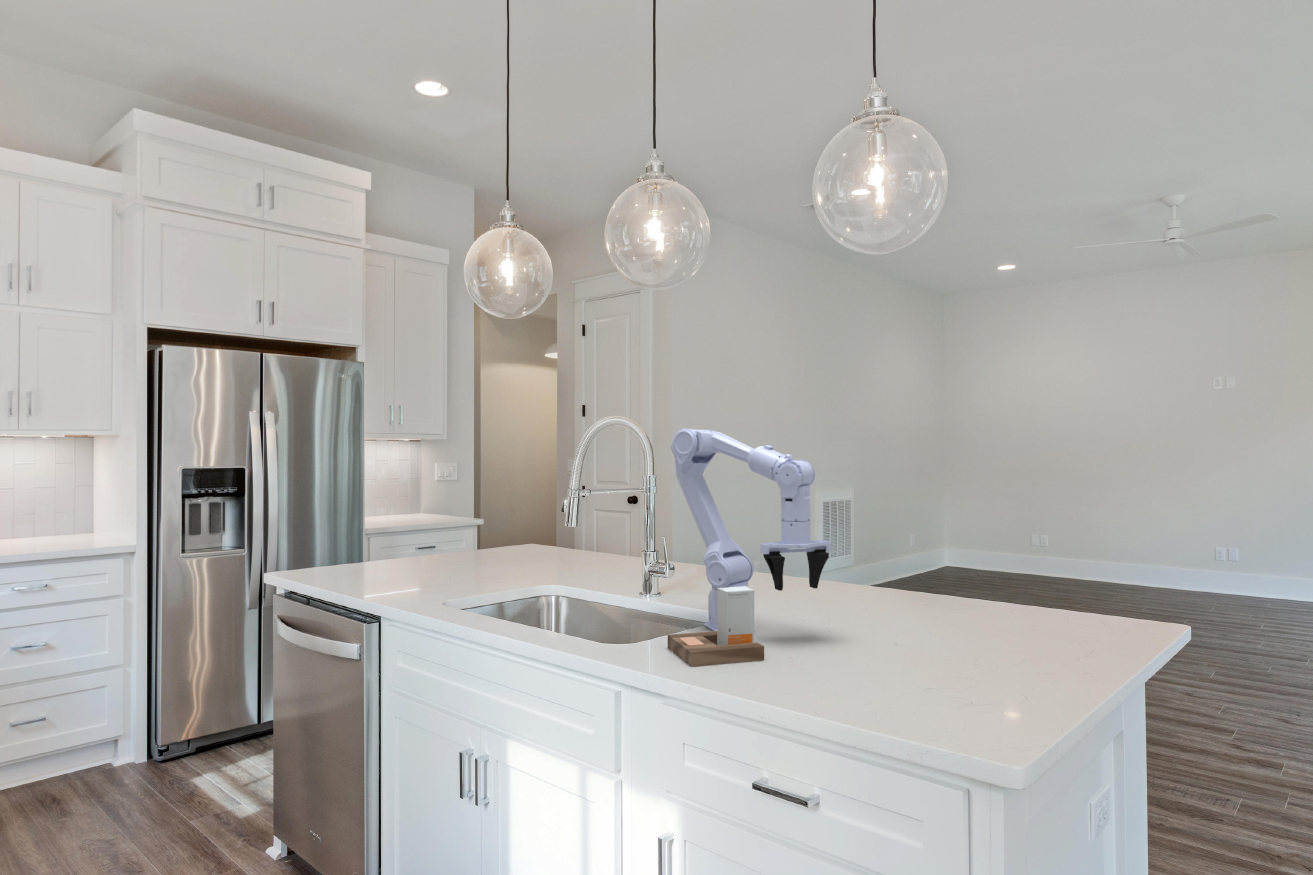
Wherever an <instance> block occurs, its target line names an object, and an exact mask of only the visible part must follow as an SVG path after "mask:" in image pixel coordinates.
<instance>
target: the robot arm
mask: <svg viewBox="0 0 1313 875" xmlns="http://www.w3.org/2000/svg"><path fill="white" fill-rule="evenodd" d="M670 449H671V452H672V454H673V456H674V461H675V462H674V463H675V475H676V479H677V481H678V485H679V486H680V488H681V491H682V493H683V496H684V498H685V500H686V502H687V504H688V507H689V509H690V512H691V514H692V516H693V518H694V521H695V523H696V526H697V528H698V530H699V534H700V535H701V537H702V540H703V542H704V545H705V547H706V551H705V554H704V555H703V558H702V560H703V562H704V565H705V575H706V579H707V581H708V583H709V584H710V586H711V590H710V591H709V594H708V597H707V598H708V599H707V601H708V602H707V605H708V606H707V608H708V609H707V610H708V611H707V612H708V614H707V615H708V619H707V620H708V621H707V622H704V623H703V625H704V626H705V627H706V628H707V629H710V630H711V631H717V588H728V587H743V586H746V587H749V581H751V579H752V577H753V574H754V564H753V562H752V561H751V559H750V558H749V557H748V556H747V555H746V554H745V553H744V550H743V549H742V546H740V545H739V544H738V543H736V542H735V541H733V540H732V539H731V536H730V535H729V531H728V529H727V528H726V525H725V523H724V520H723V518H722V516H721V514H720V512H719V509H718V507H717V505H716V503H715V500H714V497H713V496H712V493H711V490H710V488H709V487H708V486H709V485H708V484H707V482H706V479H705V478H704V472H705V470H706V468H707V467H708V465H709V464H710V463H711V462H712V460H713V458H714V457H715V455H716V454H717V453H718V454H719V453H721V454H724V455H726V456H729V457H732V458H734V459H736V460H740V461H743V462H745V463H747V465H748V468H749V470H750V471H751V472H753V473H755V474H757V475H760V476H762V477H764V478H766V479H769V480H770V481H771V480H772V481H773V482H775V483H776V484H777V485H778V487H779V489H780V508H781V511H780V512H781V514H780V518H781V522H780V524H781V527H780V529H781V535H780V536H781V541H775V542H774V541H773V542H764V543H763V542H762V543H760V553H761V554H762V555H763V558H764V560H765V562H766V564H767V566H768V568H769V571H770V573H771V577H772V580H773V584H774V589H775V590H776V591H781V592H782V591H783V590H784V566H785V561H786V557H785V556H782V554H784V553H785V554H786V553H787V554H788V553H806V558H807V562H808V563H807V564H808V580H809V581H808V582H809V583H808V584H809V587H810V588H812V589H818V587H819V582H820V579H821V575H822V572H823V569H824V567H825V565H826V563H827V561H828V559H829V557H830V556H829V555H830V554H829V552H832V549H831V548H832V542H831V541H830V540H829V541H828V540H811V485H812V484H813V483H814V481H815V477H816V473H815V469H814V466H813V465H812V464H811V463H810V462H808V461H807V460H806V459H802V458H801V459H796V460H794V459H793V455H792V454H789V453H786V454H783V453H781V452H778V451H776V450H774V446H772V445H770V444H769V445H768V444H765V445H764V446H763V445H760V446H757V447H755V448H754V447H751V446H749V445H748V444H745V443H743V442H742V441H739V440H737V439H735V438H733V437H731V436H729V435H727V434H724V433H722V432H720V431H715V430H714V429H710V428H705V429H694V428H685V427H684V428H680V429H679V430H678V431H676V433H675V435H674V436H673V440H672V442H671V445H670ZM754 633H755V629H754Z"/></svg>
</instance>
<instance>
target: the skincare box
mask: <svg viewBox="0 0 1313 875" xmlns="http://www.w3.org/2000/svg"><path fill="white" fill-rule="evenodd" d="M754 630H755V590H754V588H753V589H752V588H750V587H749V586H747V587H746V586H743V587H728V588H717V646H720V645H732V644H744V643H755V632H754Z"/></svg>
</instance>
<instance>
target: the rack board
mask: <svg viewBox="0 0 1313 875" xmlns="http://www.w3.org/2000/svg"><path fill="white" fill-rule="evenodd" d="M667 649H669V650H670V651H671V652H673V654H675V655H676V656H678V657H679V658H680V659H681V660H682V661H684V662H685V663H686V664H687V665H688V666H690V667H692V668H693V667H703V666H713V665H725V664H726V665H727V664H736V663H747V662H759V661H765V646H764V645H763V644H761V643H759V642H754V643H744V644H732V645H720V646H717V631H713V630H711V631H700V632H699V631H697V632H686V633H685V632H683V633H673V634H672V633H671V634H667Z"/></svg>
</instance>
